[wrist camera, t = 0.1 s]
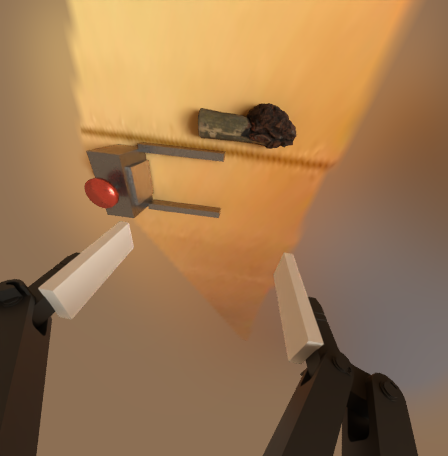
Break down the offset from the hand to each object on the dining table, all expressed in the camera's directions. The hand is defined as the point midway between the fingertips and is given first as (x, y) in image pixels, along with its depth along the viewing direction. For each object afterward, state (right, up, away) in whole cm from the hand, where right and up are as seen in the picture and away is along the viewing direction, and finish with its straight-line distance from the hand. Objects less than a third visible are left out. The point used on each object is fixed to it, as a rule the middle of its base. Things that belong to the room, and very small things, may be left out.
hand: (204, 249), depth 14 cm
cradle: (-11, +14, +26) cm, 31 cm away
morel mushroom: (+6, +22, +19) cm, 30 cm away
